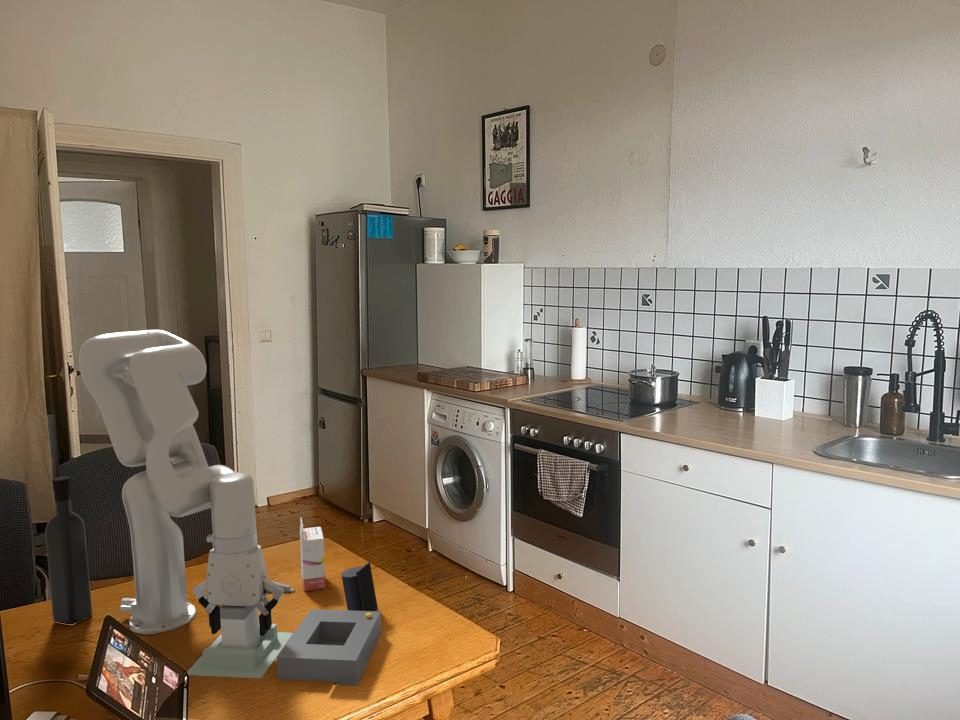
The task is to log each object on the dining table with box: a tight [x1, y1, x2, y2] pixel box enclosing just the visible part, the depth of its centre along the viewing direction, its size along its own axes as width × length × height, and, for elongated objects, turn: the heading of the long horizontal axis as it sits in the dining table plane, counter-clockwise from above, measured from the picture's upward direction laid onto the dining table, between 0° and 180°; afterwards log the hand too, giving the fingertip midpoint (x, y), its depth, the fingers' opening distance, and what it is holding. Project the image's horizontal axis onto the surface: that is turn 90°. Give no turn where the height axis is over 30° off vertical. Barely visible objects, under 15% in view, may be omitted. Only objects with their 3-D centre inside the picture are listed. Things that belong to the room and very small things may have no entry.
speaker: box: [340, 561, 379, 611], centre depth 154 cm, size 8×6×10 cm
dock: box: [276, 608, 382, 687], centre depth 136 cm, size 14×18×5 cm
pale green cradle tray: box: [187, 623, 294, 679], centre depth 137 cm, size 14×16×4 cm
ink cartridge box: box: [299, 517, 326, 592], centre depth 168 cm, size 9×5×15 cm, turn 17°
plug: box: [220, 606, 260, 649], centre depth 137 cm, size 4×6×10 cm
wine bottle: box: [44, 475, 93, 624], centre depth 150 cm, size 6×6×30 cm
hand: (241, 631), depth 137 cm, fingers open, 8 cm apart
